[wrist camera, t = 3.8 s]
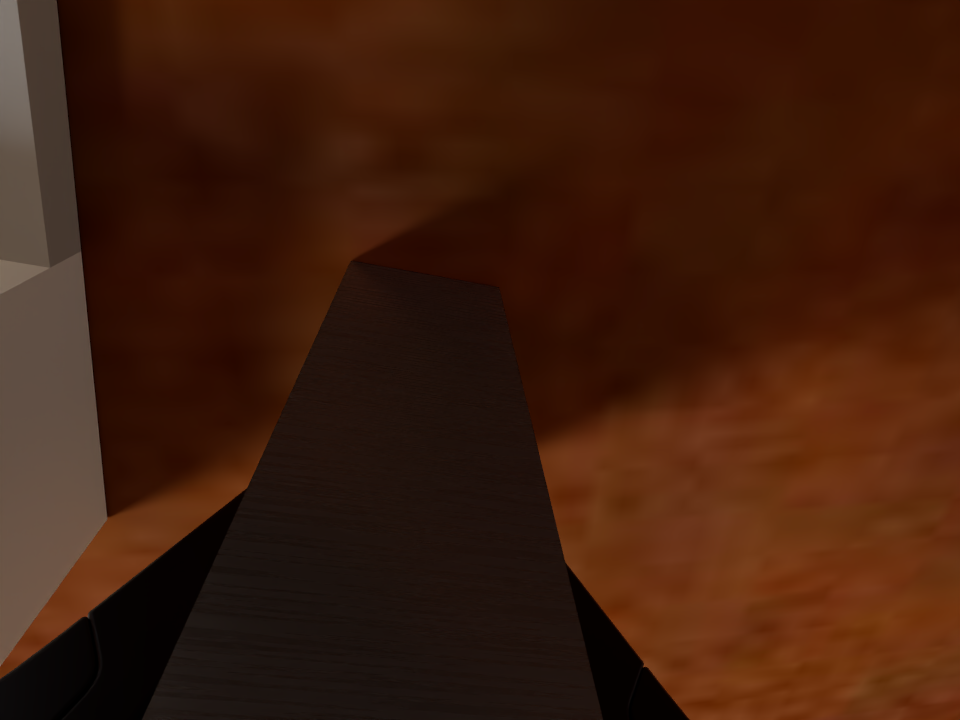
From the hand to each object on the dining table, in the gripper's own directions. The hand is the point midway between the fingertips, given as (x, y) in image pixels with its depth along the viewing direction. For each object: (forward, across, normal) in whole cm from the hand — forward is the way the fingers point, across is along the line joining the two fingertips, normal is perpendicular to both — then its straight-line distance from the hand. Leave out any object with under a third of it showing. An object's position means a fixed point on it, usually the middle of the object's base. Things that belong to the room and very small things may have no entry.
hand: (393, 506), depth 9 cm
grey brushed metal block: (+4, 0, 0) cm, 4 cm away
